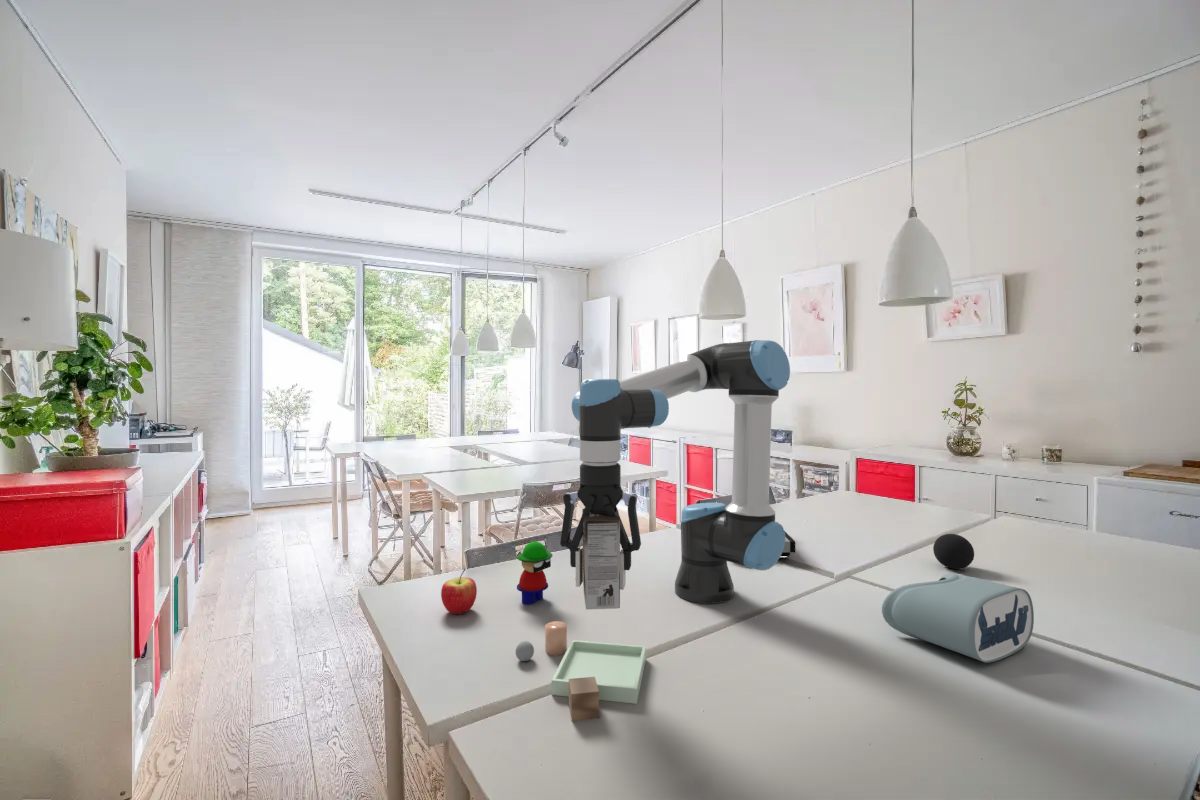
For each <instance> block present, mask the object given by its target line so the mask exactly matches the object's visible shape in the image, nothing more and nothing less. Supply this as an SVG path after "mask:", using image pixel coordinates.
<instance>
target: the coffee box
mask: <svg viewBox="0 0 1200 800" xmlns="http://www.w3.org/2000/svg"><path fill="white" fill-rule="evenodd" d="M581 510H582V511H581V512H582V513H583V511H584V508H582V509H581ZM582 513H581V514H582ZM582 547H583V582H582V584H583V585H582V586H583V597H584V605H585V610H609V609H610V610H611V609H614V610H615V609H620V608H621V590H620V551H621V544H620V519H619V517H618V515H617V516H616V517H609V516H608V514H602V513H596V514H591V512H590V514H589V515H584V522H583V536H582Z"/></svg>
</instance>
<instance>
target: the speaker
mask: <svg viewBox="0 0 1200 800" xmlns="http://www.w3.org/2000/svg"><path fill="white" fill-rule="evenodd" d="M932 549H933V555H934V556H935V559H936V560H937V562H938V563H940V564H941V565H942V566H944V567H945V568H948V569H953V570H961V569H965V568H967V567H969V566H970V565H971V564H972V563H973V560H974V558H975V550H974V547H973V545H972V544H971V542H970V541H969V540H968V539H967V538H965V537H964V536H962V535H959V534H956V533H945V534H942V535H941V536H939V537H937V539H936V540H935V541H934V543H933V548H932Z"/></svg>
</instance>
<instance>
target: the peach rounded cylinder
mask: <svg viewBox="0 0 1200 800" xmlns="http://www.w3.org/2000/svg"><path fill="white" fill-rule="evenodd" d="M567 629H568V625H567V623H565V622H563V621H559V620H557V621H549V622H547V623H546V624H545V626H544V633H545V634H544V638H545V640H544V641H545V643H544V645H545V646H544V647H545V648H544V650H545V653H546V654H547V655H549V656H561V655H565V653H566V651H567V649H568V643H567V642H568V639H567V638H568V635H567V634H568V630H567Z"/></svg>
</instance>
